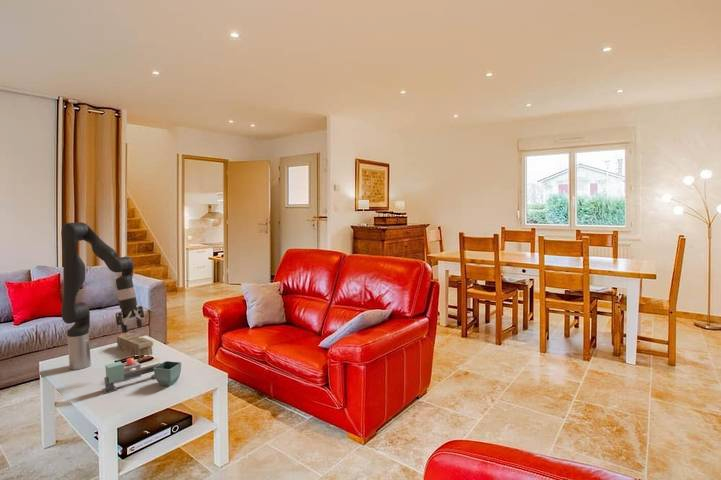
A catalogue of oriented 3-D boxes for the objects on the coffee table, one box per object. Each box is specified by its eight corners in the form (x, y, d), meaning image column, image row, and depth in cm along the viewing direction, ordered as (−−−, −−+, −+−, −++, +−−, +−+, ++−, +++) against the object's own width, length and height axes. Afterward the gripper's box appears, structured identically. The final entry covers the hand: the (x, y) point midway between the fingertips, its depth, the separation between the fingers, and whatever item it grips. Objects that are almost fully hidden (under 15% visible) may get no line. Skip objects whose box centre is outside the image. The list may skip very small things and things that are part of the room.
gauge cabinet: (121, 376, 202) (120, 364, 201) (136, 372, 207) (136, 360, 206) (125, 380, 196) (124, 368, 196) (141, 376, 201) (140, 364, 201)
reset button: (125, 367, 201) (125, 359, 201) (133, 365, 204) (132, 357, 203) (127, 369, 199) (127, 360, 199) (135, 367, 201) (134, 359, 201)
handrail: (101, 390, 187) (101, 377, 186) (162, 373, 205) (161, 361, 204) (104, 393, 183) (103, 380, 182) (165, 376, 201) (165, 364, 201)
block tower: (116, 349, 243) (139, 358, 225) (115, 335, 242) (138, 343, 224) (130, 345, 249) (153, 354, 231) (129, 332, 249) (152, 339, 231)
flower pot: (170, 388, 188) (169, 369, 187) (153, 387, 189) (152, 368, 189) (182, 380, 196) (181, 362, 196) (166, 379, 198) (165, 360, 197)
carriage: (106, 379, 188) (105, 364, 187) (121, 375, 192) (120, 361, 191) (109, 383, 184) (108, 367, 183) (124, 379, 188) (123, 364, 188)
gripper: (133, 295, 210) (138, 326, 210) (108, 301, 196) (114, 334, 197) (144, 293, 207) (150, 325, 208) (120, 300, 194) (126, 333, 194)
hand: (132, 329), depth 202 cm, fingers open, 8 cm apart
